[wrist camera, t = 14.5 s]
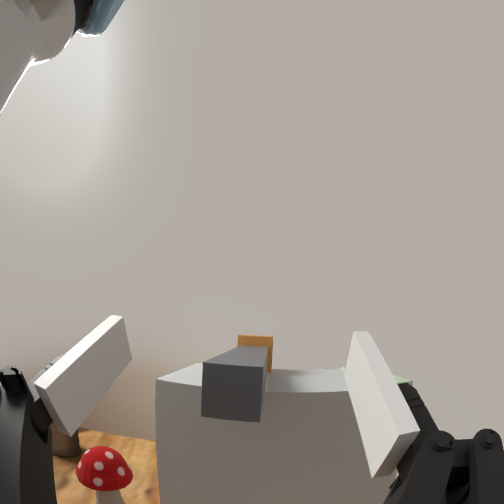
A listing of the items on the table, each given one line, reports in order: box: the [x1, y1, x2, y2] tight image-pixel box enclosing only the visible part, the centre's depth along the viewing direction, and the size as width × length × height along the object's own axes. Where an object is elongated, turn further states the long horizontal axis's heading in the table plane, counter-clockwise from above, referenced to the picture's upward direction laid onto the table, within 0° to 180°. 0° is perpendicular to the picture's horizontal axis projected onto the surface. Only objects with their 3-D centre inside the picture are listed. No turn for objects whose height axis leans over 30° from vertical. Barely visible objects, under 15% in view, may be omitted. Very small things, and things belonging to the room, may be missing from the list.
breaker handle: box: [201, 335, 273, 422], centre depth 27 cm, size 26×5×5 cm, turn 176°
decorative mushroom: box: [76, 446, 133, 504], centre depth 25 cm, size 10×9×15 cm
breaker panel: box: [155, 363, 413, 504], centre depth 27 cm, size 17×26×30 cm, turn 86°
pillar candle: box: [50, 422, 81, 457], centre depth 41 cm, size 10×10×15 cm
